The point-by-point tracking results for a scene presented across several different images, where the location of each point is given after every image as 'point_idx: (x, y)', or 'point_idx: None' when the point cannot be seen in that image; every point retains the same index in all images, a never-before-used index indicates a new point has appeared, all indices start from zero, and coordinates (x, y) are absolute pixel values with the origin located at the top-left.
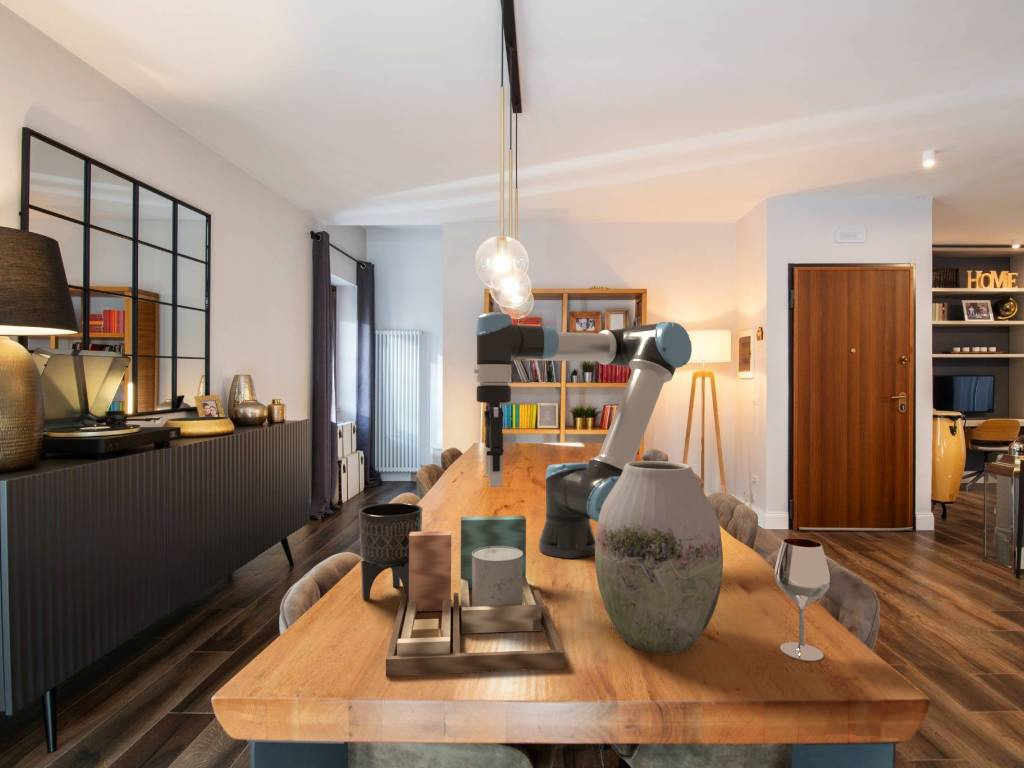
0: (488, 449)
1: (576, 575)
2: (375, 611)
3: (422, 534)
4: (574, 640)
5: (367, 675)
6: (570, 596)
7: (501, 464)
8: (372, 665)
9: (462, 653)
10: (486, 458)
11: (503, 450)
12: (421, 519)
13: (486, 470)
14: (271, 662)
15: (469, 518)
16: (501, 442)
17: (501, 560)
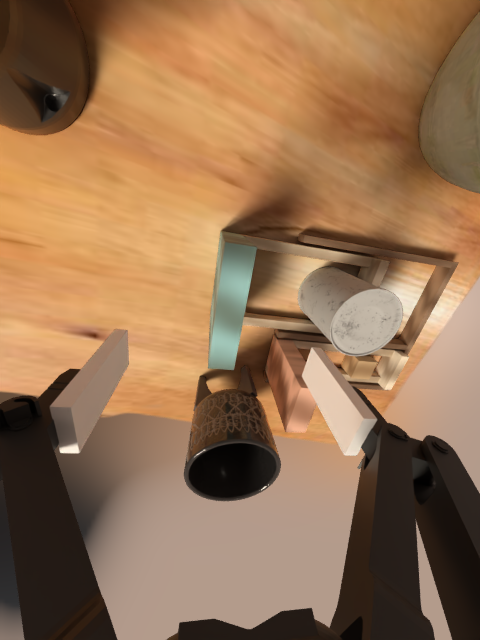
0: (81, 438)
1: (202, 117)
2: (266, 393)
3: (305, 419)
4: (407, 227)
5: (373, 391)
6: (292, 176)
7: (354, 395)
8: (361, 389)
9: (409, 343)
10: (102, 409)
11: (447, 446)
12: (246, 427)
13: (121, 375)
14: (329, 438)
15: (223, 355)
16: (470, 489)
17: (399, 325)
